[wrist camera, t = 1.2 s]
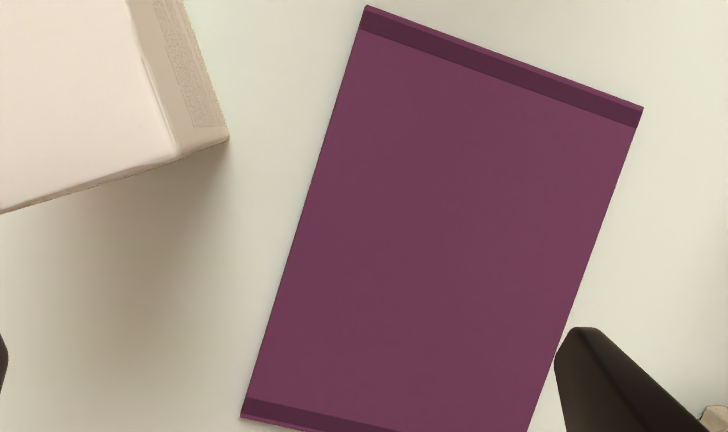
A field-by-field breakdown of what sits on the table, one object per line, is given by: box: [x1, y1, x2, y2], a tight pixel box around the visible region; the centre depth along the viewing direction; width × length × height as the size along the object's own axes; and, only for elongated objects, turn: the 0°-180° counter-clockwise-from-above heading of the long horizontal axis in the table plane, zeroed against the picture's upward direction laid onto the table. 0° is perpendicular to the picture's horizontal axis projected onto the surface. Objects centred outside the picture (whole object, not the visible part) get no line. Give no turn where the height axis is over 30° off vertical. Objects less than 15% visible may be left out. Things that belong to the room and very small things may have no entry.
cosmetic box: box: [0, 0, 230, 214], centre depth 17 cm, size 6×4×12 cm
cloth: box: [240, 5, 644, 432], centre depth 25 cm, size 18×13×1 cm
